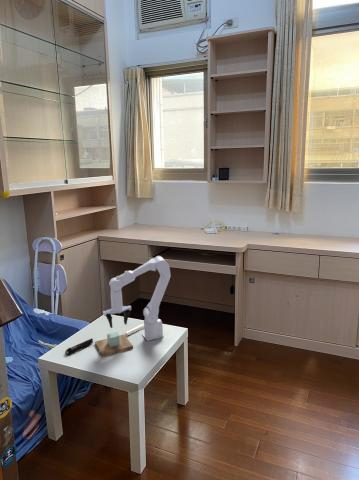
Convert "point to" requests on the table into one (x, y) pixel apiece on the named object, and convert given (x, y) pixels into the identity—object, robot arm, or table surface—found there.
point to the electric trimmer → (78, 347)
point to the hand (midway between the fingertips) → (118, 325)
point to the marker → (134, 329)
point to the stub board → (108, 350)
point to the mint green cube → (113, 339)
